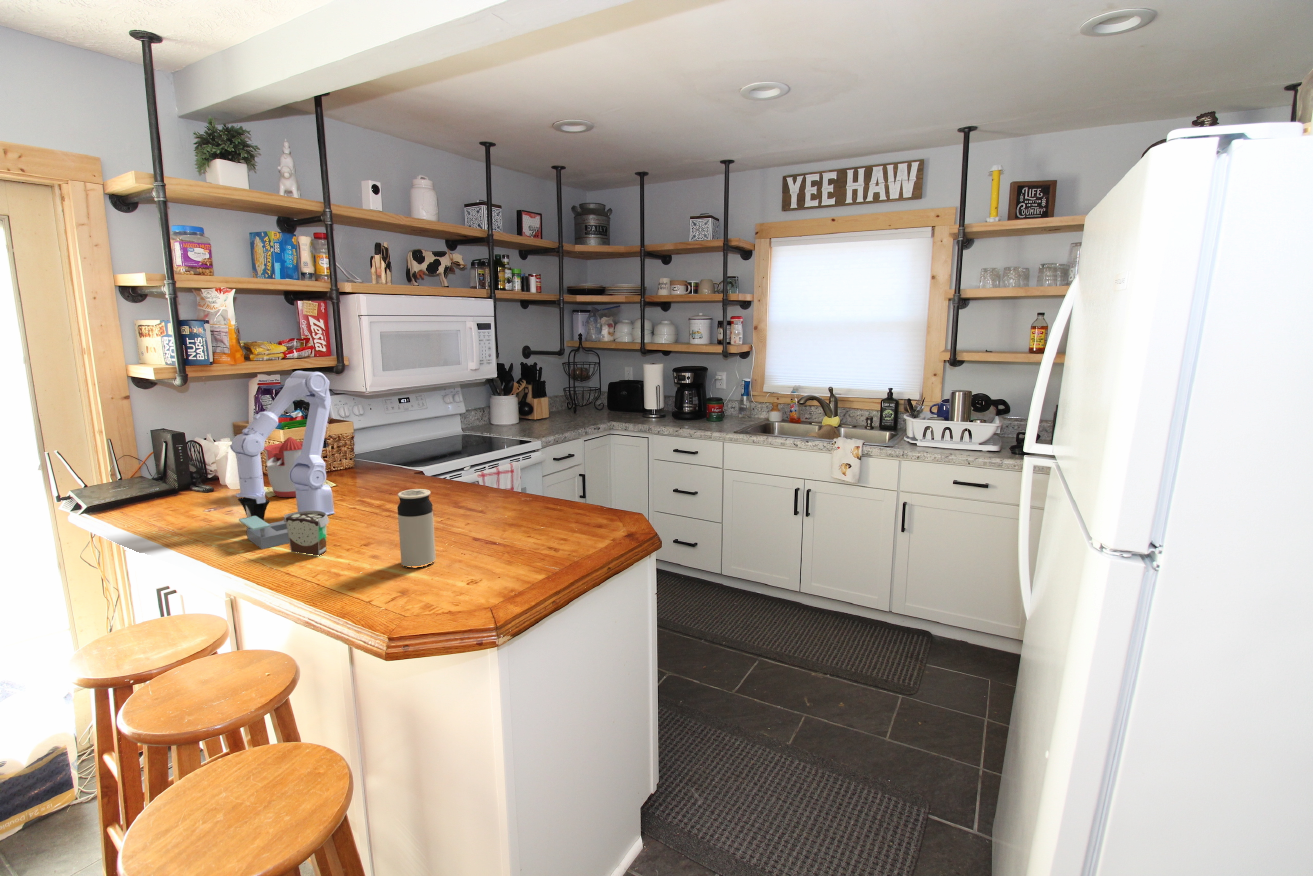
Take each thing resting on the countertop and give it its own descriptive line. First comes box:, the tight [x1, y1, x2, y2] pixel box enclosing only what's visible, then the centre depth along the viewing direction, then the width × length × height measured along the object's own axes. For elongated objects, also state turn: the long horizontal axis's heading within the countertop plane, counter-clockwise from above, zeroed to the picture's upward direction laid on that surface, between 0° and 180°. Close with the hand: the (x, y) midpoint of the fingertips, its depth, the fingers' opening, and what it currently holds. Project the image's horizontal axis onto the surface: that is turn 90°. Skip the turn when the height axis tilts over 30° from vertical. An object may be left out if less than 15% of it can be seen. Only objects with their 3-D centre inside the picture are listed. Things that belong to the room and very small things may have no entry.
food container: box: [283, 511, 330, 557], centre depth 164 cm, size 12×6×10 cm, turn 71°
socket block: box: [238, 516, 290, 550], centre depth 173 cm, size 14×12×6 cm
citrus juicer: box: [264, 436, 303, 498], centre depth 217 cm, size 16×17×20 cm
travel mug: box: [397, 488, 437, 567], centre depth 155 cm, size 8×8×18 cm
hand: (256, 523), depth 180 cm, fingers closed on peg, 4 cm apart
